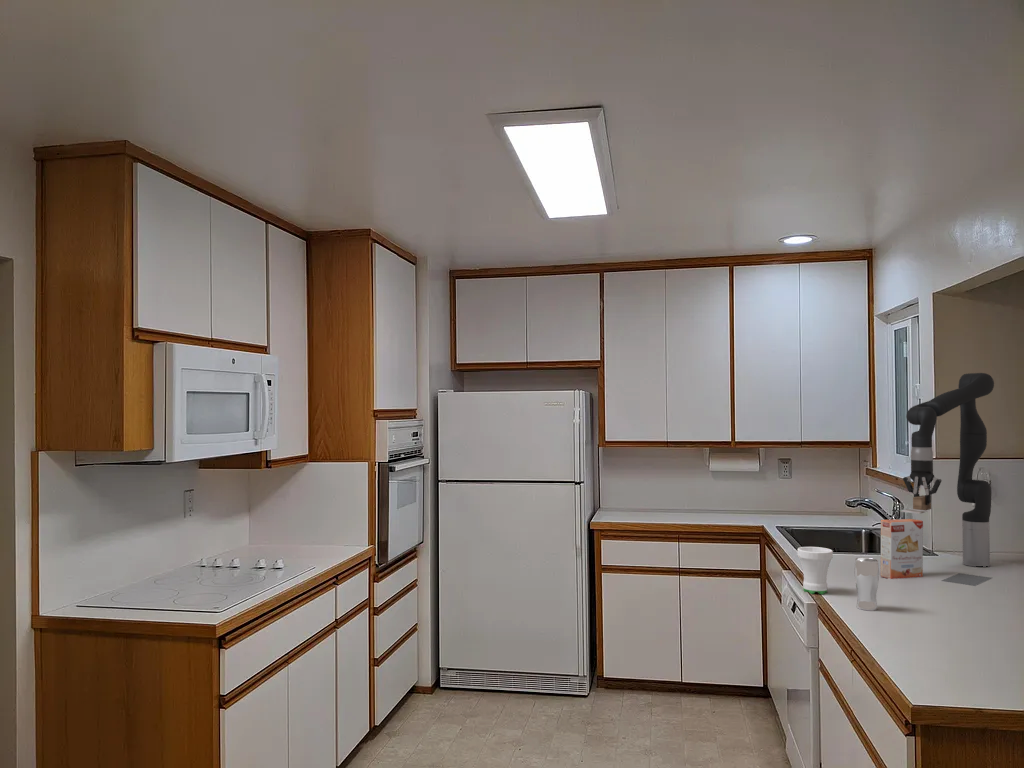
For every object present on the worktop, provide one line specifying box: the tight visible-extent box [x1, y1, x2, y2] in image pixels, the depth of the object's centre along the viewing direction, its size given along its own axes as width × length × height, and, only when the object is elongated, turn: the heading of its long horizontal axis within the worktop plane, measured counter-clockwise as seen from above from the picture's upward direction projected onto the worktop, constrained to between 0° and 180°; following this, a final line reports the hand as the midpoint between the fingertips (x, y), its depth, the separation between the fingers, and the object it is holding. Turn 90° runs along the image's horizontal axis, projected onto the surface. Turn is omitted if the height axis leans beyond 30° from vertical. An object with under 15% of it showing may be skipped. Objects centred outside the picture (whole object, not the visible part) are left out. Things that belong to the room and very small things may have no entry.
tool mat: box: [941, 572, 992, 587], centre depth 289 cm, size 19×11×1 cm, turn 134°
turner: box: [899, 494, 932, 514], centre depth 306 cm, size 17×7×5 cm, turn 134°
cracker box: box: [880, 518, 924, 580], centre depth 294 cm, size 14×6×21 cm, turn 105°
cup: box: [797, 546, 834, 595], centre depth 271 cm, size 11×11×14 cm
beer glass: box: [854, 557, 880, 612], centre depth 250 cm, size 7×7×15 cm
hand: (922, 504), depth 308 cm, fingers closed on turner, 3 cm apart
